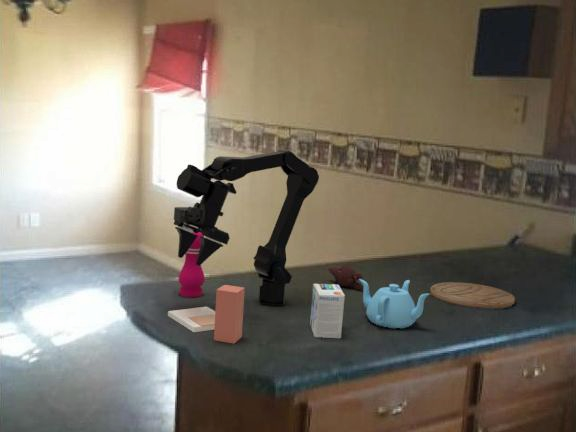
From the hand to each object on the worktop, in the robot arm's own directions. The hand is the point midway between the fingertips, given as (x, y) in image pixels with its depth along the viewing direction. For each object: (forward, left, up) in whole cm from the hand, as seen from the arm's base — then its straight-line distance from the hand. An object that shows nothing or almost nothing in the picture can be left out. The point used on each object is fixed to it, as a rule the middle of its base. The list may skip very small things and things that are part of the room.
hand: (188, 261), depth 183 cm
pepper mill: (+2, -18, -14) cm, 23 cm away
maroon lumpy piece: (-43, -40, -14) cm, 60 cm away
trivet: (-81, -37, -14) cm, 91 cm away
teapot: (-53, -6, -14) cm, 56 cm away
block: (-12, +17, -14) cm, 25 cm away
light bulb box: (-35, +6, -14) cm, 39 cm away
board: (-4, +5, -14) cm, 15 cm away
